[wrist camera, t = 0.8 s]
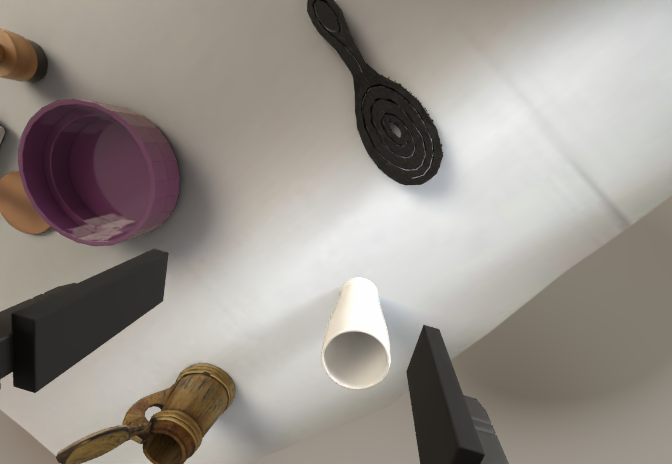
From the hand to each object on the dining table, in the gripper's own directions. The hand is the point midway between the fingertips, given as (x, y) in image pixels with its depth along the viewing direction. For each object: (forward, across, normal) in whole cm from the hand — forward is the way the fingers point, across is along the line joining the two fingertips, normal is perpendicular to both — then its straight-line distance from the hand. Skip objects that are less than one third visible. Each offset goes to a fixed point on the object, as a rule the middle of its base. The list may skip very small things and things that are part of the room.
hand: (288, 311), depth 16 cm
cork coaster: (+27, -44, -11) cm, 52 cm away
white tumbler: (+28, +5, -11) cm, 30 cm away
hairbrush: (+28, 0, +15) cm, 32 cm away
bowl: (+27, -30, -3) cm, 41 cm away
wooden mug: (+27, -16, -32) cm, 45 cm away
